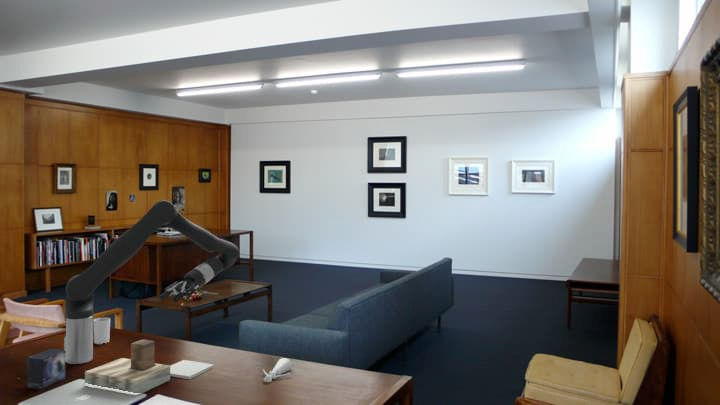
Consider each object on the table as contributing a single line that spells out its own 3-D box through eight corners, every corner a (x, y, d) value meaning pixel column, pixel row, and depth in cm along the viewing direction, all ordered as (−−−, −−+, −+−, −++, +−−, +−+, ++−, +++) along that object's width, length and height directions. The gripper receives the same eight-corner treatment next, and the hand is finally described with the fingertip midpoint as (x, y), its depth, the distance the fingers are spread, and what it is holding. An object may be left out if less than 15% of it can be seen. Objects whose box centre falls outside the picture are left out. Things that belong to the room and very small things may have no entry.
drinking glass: (113, 341, 229) (113, 318, 229) (100, 345, 223) (100, 322, 223) (103, 339, 232) (103, 316, 232) (89, 343, 226) (89, 320, 226)
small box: (42, 390, 173) (42, 358, 173) (25, 388, 174) (25, 357, 174) (66, 379, 183) (66, 349, 183) (50, 377, 184) (50, 348, 184)
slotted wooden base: (84, 386, 177) (84, 371, 176) (121, 371, 192) (121, 357, 192) (136, 396, 169) (136, 380, 169) (170, 379, 184) (170, 365, 184)
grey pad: (157, 373, 190) (157, 371, 190) (183, 362, 203) (183, 359, 203) (189, 379, 185) (189, 376, 185) (213, 367, 198) (213, 364, 198)
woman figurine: (301, 357, 198) (280, 376, 180) (301, 368, 198) (280, 388, 181) (274, 354, 201) (250, 372, 184) (274, 365, 201) (250, 384, 184)
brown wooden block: (130, 377, 181) (131, 343, 181) (142, 372, 186) (142, 339, 186) (143, 379, 179) (143, 345, 179) (154, 374, 184) (154, 341, 184)
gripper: (184, 267, 209) (151, 290, 197) (206, 268, 200) (173, 292, 189) (192, 283, 211) (159, 306, 199) (214, 285, 203) (182, 309, 191)
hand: (166, 299), depth 194 cm, fingers open, 8 cm apart
